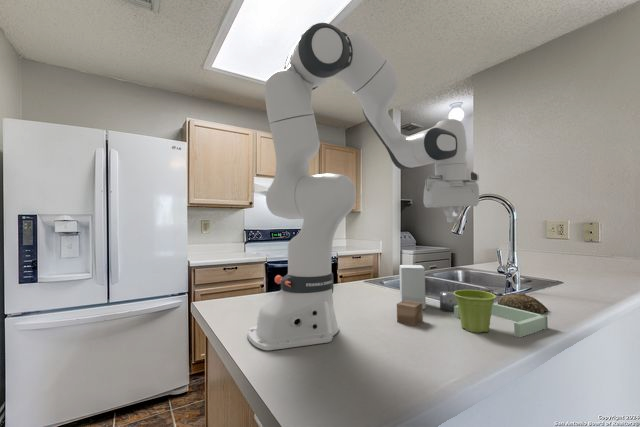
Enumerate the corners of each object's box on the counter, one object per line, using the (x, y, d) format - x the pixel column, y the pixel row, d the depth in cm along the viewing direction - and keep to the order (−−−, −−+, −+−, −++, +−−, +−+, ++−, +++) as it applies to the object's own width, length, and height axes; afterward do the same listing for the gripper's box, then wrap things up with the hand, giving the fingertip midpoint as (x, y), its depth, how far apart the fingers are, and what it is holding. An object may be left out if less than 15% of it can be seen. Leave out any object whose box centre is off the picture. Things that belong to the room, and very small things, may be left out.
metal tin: (450, 313, 87) (450, 296, 87) (436, 309, 91) (436, 292, 91) (461, 310, 89) (461, 294, 89) (447, 306, 93) (447, 290, 94)
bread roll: (492, 309, 91) (492, 293, 91) (502, 301, 100) (501, 286, 100) (545, 318, 82) (544, 300, 82) (550, 308, 91) (549, 292, 91)
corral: (520, 337, 68) (519, 324, 68) (454, 316, 83) (453, 306, 83) (547, 328, 74) (547, 316, 74) (481, 310, 89) (481, 300, 89)
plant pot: (496, 338, 67) (495, 300, 68) (451, 331, 72) (450, 295, 73) (497, 326, 75) (496, 292, 76) (457, 320, 80) (456, 288, 81)
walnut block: (414, 326, 76) (414, 307, 76) (397, 322, 80) (396, 303, 80) (422, 321, 80) (422, 303, 80) (405, 317, 83) (405, 300, 84)
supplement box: (426, 309, 91) (425, 268, 91) (401, 308, 92) (400, 267, 93) (422, 302, 98) (422, 264, 98) (399, 302, 100) (399, 264, 100)
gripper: (434, 173, 81) (436, 224, 81) (482, 175, 90) (484, 220, 90) (417, 176, 86) (419, 223, 86) (464, 178, 96) (465, 220, 96)
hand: (452, 222), depth 88 cm, fingers closed
